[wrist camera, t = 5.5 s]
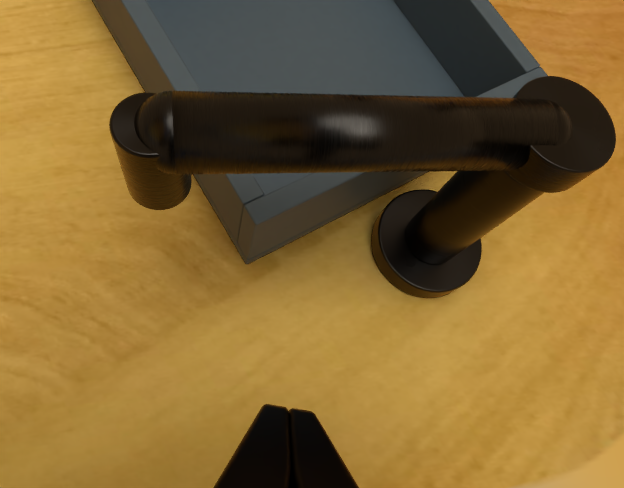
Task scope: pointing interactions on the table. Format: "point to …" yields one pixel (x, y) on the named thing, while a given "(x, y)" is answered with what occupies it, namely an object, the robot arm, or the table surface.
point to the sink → (314, 81)
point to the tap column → (444, 230)
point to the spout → (359, 136)
